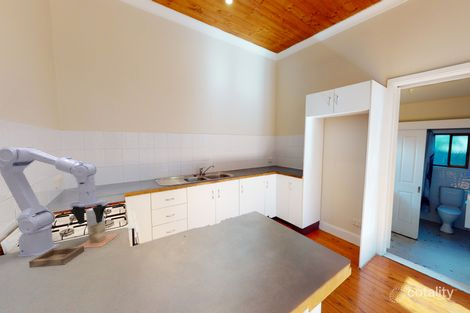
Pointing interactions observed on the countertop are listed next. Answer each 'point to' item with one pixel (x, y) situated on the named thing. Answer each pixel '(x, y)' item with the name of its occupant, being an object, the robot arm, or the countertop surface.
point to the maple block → (96, 233)
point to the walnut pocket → (56, 256)
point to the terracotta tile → (100, 244)
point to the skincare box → (92, 218)
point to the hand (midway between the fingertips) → (90, 223)
